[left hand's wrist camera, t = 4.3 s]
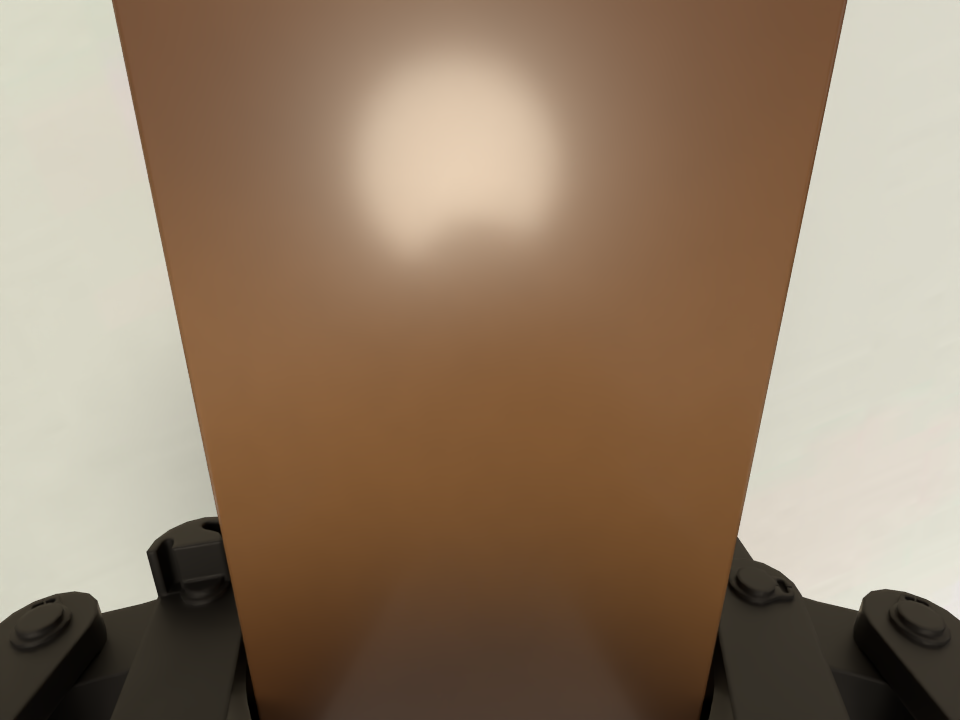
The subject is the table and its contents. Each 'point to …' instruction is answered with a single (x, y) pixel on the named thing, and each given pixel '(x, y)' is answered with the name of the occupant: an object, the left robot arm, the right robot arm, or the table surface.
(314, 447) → the bar
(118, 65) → the table surface
